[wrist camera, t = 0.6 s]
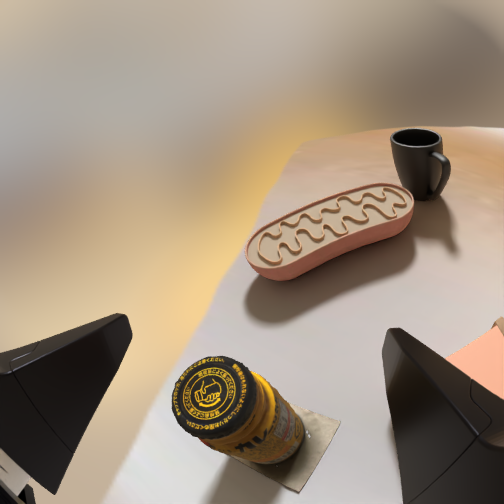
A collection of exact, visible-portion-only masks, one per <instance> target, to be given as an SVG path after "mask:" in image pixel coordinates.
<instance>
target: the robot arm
mask: <svg viewBox="0 0 504 504" xmlns="http://www.w3.org/2000/svg"><path fill="white" fill-rule="evenodd" d="M131 340H132V330H131V327H130V324H129V320H128V317H127V316H126V315H125V314H119V313H116V314H113V315H110V316H107V317H104V318H102V319H99V320H96V321H93V322H91V323H88V324H85V325H82V326H80V327H77V328H74V329H71V330H68V331H66V332H63V333H60V334H57V335H54V336H52V337H49V338H46V339H43V340H41V341H37V342H35V343H32V344H29V345H26V346H23V347H20V348H17V349H13V350H10V351H6V352H2V353H0V504H36V503H35V498H34V493H33V488H32V487H31V486H29V485H28V484H27V483H28V481H29V480H30V479H31V477H32V478H33V479H34V480H35V481H37V482H38V483H39V484H40V485H42V486H43V487H44V488H45V489H47V490H48V491H49V492H51V493H52V494H54V495H55V494H56V493H57V491H58V488H59V486H60V484H61V481H62V479H63V477H64V475H65V472H66V470H67V468H68V466H69V464H70V462H71V459H72V457H73V455H74V453H75V451H76V449H77V447H78V444H79V442H80V440H81V438H82V436H83V434H84V432H85V430H86V428H87V426H88V424H89V422H90V420H91V419H92V417H93V415H94V413H95V411H96V409H97V407H98V405H99V404H100V402H101V400H102V398H103V396H104V394H105V392H106V391H107V389H108V387H109V385H110V383H111V381H112V380H113V378H114V376H115V374H116V373H117V371H118V369H119V367H120V364H121V362H122V360H123V358H124V355H125V353H126V351H127V349H128V346H129V344H130V342H131ZM382 359H383V367H384V376H385V385H386V394H387V400H388V404H389V409H390V414H391V419H392V424H393V430H394V436H395V442H396V448H397V454H398V461H399V469H400V477H401V486H402V497H403V504H504V399H502V398H500V397H499V396H497V395H496V394H494V393H492V392H491V391H489V390H488V389H487V388H485V387H484V386H482V385H481V384H479V383H478V382H477V381H475V380H474V379H471V377H470V376H468V375H467V374H465V373H464V372H463V371H461V370H460V369H458V368H457V367H456V366H454V365H453V364H451V363H450V362H449V361H447V360H446V359H444V358H443V357H441V356H440V355H439V354H437V353H436V352H434V351H433V350H432V349H430V348H429V347H427V346H426V345H424V344H423V343H421V342H420V341H419V340H417V339H416V338H414V337H413V336H411V335H410V334H408V333H407V332H406V331H404V330H403V329H401V328H389V329H388V330H387V333H386V337H385V341H384V345H383V349H382Z"/></svg>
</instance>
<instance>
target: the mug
mask: <svg viewBox="0 0 504 504" xmlns="http://www.w3.org/2000/svg"><path fill="white" fill-rule="evenodd" d="M390 140H391V147H392V153H393V159H394V163H395V166H396V170H397V173H398V176H399V179H400V181H401V184H402V186H403V188H405V189H407V190H408V191H409V192H410V193H411V194H412V196H413V199H414V200H418V201H426V200H435V199H437V198H438V196H439V195H440V194H441V192H442V191H443V189H444V187H445V185H446V183H447V181H448V179H449V176H450V171H451V165H450V161H449V160H448V158H447V157H445V156H444V155H443V145H442V137H441V136H440V135H439V134H438V133H436V132H434V131H432V130H428V129H422V128H408V129H402V130H399V131H396V132H394V133H393V134H392V135H391V137H390ZM440 177H441V178H440Z"/></svg>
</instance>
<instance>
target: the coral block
mask: <svg viewBox="0 0 504 504" xmlns="http://www.w3.org/2000/svg"><path fill="white" fill-rule="evenodd" d="M445 359H446V360H447V361H449V362H450V363H451V364H453V365H454V366H456V367H457V368H458V369H460V370H461V371H463V372H464V373H465V374H467V375H468V376H470V377H471V379H474V380H475V381H477V382H478V383H479V384H481V385H482V386H484V387H485V388H487V389H488V390H489V391H491V392H492V393H494V394H496V395H497V396H499V397H500V398H502V399H504V336H503V334H502V332H501V331H500V329H499V328H498V326H497V325H496V326H495V327H493V328H492V329H491V330H489V331H488V332H486V333H485V334H483V335H482V336H480V337H479V338H477V339H476V340H474V341H473V342H471V343H470V344H468V345H467V346H465V347H463V348H462V349H460V350H459V351H457V352H455V353H454V354H452V355H450V356H448V357H447V358H445Z"/></svg>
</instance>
